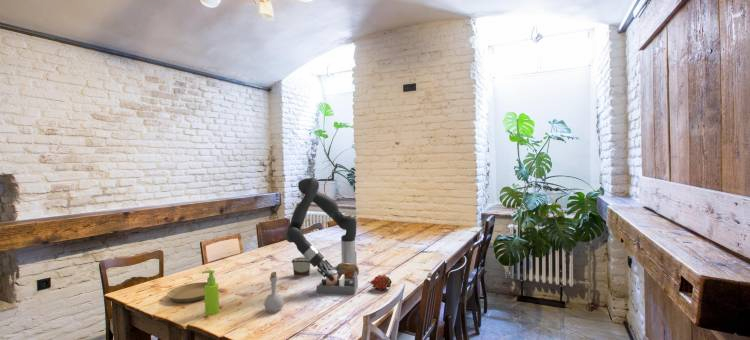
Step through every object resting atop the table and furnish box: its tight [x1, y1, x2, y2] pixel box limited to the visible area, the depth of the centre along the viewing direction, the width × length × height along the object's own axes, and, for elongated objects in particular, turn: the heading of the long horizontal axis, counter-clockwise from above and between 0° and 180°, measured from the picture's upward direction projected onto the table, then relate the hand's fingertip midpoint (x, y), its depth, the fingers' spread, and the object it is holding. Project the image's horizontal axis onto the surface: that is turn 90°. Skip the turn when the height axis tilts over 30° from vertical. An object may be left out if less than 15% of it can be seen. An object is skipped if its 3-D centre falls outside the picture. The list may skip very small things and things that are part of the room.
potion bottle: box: [263, 271, 285, 314], centre depth 168 cm, size 9×9×18 cm
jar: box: [325, 269, 338, 286], centre depth 193 cm, size 6×6×8 cm
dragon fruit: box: [369, 274, 393, 291], centre depth 193 cm, size 8×8×12 cm
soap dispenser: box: [201, 269, 220, 316], centre depth 165 cm, size 6×7×20 cm
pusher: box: [339, 274, 345, 286], centre depth 192 cm, size 1×8×6 cm, turn 174°
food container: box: [291, 256, 311, 277], centre depth 219 cm, size 12×6×10 cm, turn 84°
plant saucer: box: [166, 281, 207, 304], centre depth 187 cm, size 24×24×3 cm
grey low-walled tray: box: [316, 272, 359, 296], centre depth 192 cm, size 20×11×9 cm, turn 84°
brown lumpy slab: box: [335, 262, 360, 280], centre depth 213 cm, size 15×3×8 cm, turn 62°
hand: (334, 277), depth 192 cm, fingers closed on jar, 6 cm apart
